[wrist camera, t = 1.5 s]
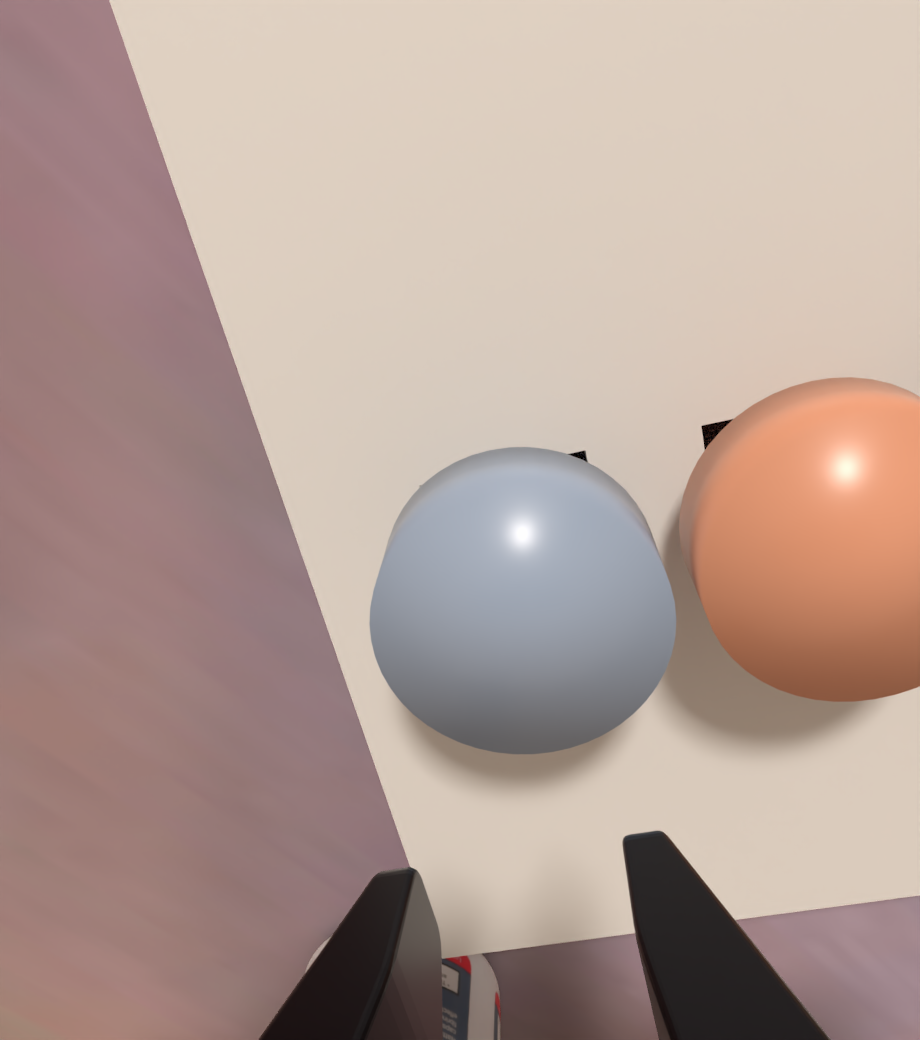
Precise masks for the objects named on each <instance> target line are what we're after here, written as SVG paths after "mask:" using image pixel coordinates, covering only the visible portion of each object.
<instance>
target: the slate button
mask: <svg viewBox="0 0 920 1040" xmlns="http://www.w3.org/2000/svg"><path fill="white" fill-rule="evenodd" d="M369 625H370V635H371V643H372V647H373V651H374V655H375V658H376V661H377V663H378V666H379V668H380V670H381V673H382V675H383V676H384V678H385V680H386V682H387V683H388V685H389V687H390V689H391V690H392V691H393V692H394V694H395V695H396V696H397V698H398V699H399V700H400V701H401V703H402V704H403V705H404V706H405V707H406V708H407V709H408V710H409V711H410V712H411V713H412V714H413V715H415V716H416V717H417V718H419V719H420V720H421V721H422V722H424V723H425V724H426V725H428V726H429V727H431V728H432V729H434V730H436V731H437V732H439V733H441V734H442V735H444V736H446V737H449V738H451V739H453V740H455V741H457V742H460V743H462V744H465V745H469V746H472V747H475V748H478V749H482V750H487V751H492V752H497V753H507V754H540V753H549V752H555V751H559V750H564V749H568V748H572V747H575V746H578V745H581V744H584V743H587V742H589V741H591V740H593V739H596V738H598V737H600V736H602V735H604V734H606V733H607V732H609V731H611V730H612V729H614V728H615V727H617V726H619V725H620V724H621V723H623V722H624V721H625V720H626V719H628V718H629V717H630V716H631V715H633V714H634V713H635V712H636V711H637V710H638V709H639V708H640V707H641V706H642V705H643V704H644V703H645V702H646V701H647V699H648V698H649V696H650V695H651V694H652V692H653V691H654V690H655V688H656V687H657V685H658V684H659V682H660V680H661V678H662V676H663V675H664V673H665V671H666V668H667V666H668V663H669V660H670V658H671V655H672V650H673V646H674V641H675V634H676V611H675V601H674V597H673V593H672V589H671V585H670V582H669V580H668V577H667V574H666V571H665V569H664V566H663V563H662V560H661V557H660V555H659V552H658V549H657V546H656V543H655V541H654V538H653V535H652V532H651V530H650V528H649V525H648V523H647V520H646V518H645V516H644V515H643V513H642V511H641V510H640V508H639V506H638V505H637V503H636V502H635V501H634V500H633V498H632V497H631V496H630V495H629V494H628V492H627V491H626V490H625V489H624V488H623V487H622V486H621V485H620V484H619V483H617V482H616V481H615V480H614V479H613V478H612V477H610V476H609V475H607V474H606V473H605V472H603V471H602V470H600V469H599V468H597V467H595V466H593V465H592V464H590V463H588V462H586V461H584V460H582V459H579V458H576V457H574V456H571V455H568V454H566V453H562V452H558V451H553V450H549V449H542V448H532V447H508V448H501V449H495V450H489V451H485V452H482V453H478V454H474V455H471V456H469V457H466V458H464V459H462V460H459V461H457V462H455V463H453V464H451V465H449V466H448V467H446V468H444V469H443V470H441V471H439V472H438V473H436V474H435V475H434V476H433V477H431V478H430V479H429V480H427V481H426V482H425V483H424V484H423V485H422V486H421V487H420V488H419V489H418V490H417V491H416V492H415V493H414V494H413V495H412V497H411V498H410V499H409V501H408V502H407V503H406V505H405V506H404V507H403V509H402V511H401V512H400V514H399V516H398V518H397V520H396V522H395V524H394V526H393V529H392V532H391V535H390V537H389V540H388V544H387V547H386V550H385V554H384V557H383V560H382V564H381V567H380V570H379V574H378V577H377V580H376V584H375V587H374V591H373V596H372V601H371V606H370V622H369Z"/></svg>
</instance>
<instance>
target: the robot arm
mask: <svg viewBox="0 0 920 1040" xmlns="http://www.w3.org/2000/svg"><path fill="white" fill-rule="evenodd" d="M622 846H623V854H624V861H625V868H626V875H627V882H628V889H629V896H630V903H631V910H632V917H633V924H634V929H635V934H636V940H637V944H638V949H639V953H640V958H641V962H642V966H643V971H644V975H645V979H646V984H647V988H648V993H649V997H650V1001H651V1006H652V1010H653V1015H654V1019H655V1023H656V1028H657V1032H658V1036H659V1040H831V1039H830V1038H829V1037H828V1036H827V1034H826V1033H825V1032H824V1031H823V1029H822V1028H821V1027H820V1026H819V1024H818V1023H817V1022H816V1021H815V1019H814V1018H813V1017H812V1016H811V1014H810V1013H809V1012H808V1011H807V1009H806V1008H805V1007H804V1006H803V1004H802V1003H801V1002H800V1001H799V999H798V998H797V997H796V996H795V994H794V993H793V992H792V991H791V989H790V988H789V987H788V986H787V984H786V983H785V982H784V981H783V979H782V978H781V977H780V976H779V974H778V973H777V972H776V971H775V969H774V968H773V967H772V966H771V964H770V963H769V962H768V960H767V959H766V958H765V957H764V955H763V954H762V953H761V952H760V950H759V949H758V948H757V947H756V945H755V944H754V943H753V942H752V940H751V939H750V938H749V937H748V935H747V934H746V933H745V932H744V930H743V929H742V928H741V927H740V925H739V924H738V923H737V922H736V920H735V919H734V918H733V917H732V915H731V914H730V913H729V912H728V910H727V909H726V908H725V907H724V905H723V904H722V903H721V902H720V900H719V899H718V898H717V897H716V895H715V894H714V893H713V892H712V890H711V889H710V888H709V887H708V885H707V884H706V883H705V882H704V880H703V879H702V878H701V877H700V875H699V874H698V873H697V872H696V870H695V869H694V868H693V867H692V865H691V864H690V863H689V862H688V860H687V859H686V858H685V857H684V855H683V854H682V853H681V852H680V850H679V849H678V848H677V847H676V845H675V844H674V843H673V842H672V840H671V839H670V838H669V837H668V835H666V834H665V833H664V832H662V831H650V832H644V833H637V834H630V835H626V836H625V837H624V838H623V841H622ZM259 1040H443V1022H442V954H441V939H440V932H439V928H438V924H437V921H436V918H435V915H434V912H433V909H432V906H431V904H430V901H429V898H428V895H427V892H426V889H425V886H424V883H423V880H422V878H421V875H420V874H419V872H418V871H417V870H416V869H414V868H411V867H408V868H402V869H395V870H388V871H382V872H380V873H378V874H377V875H375V876H374V877H373V878H372V880H371V881H370V882H369V884H368V885H367V887H366V888H365V890H364V891H363V892H362V894H361V895H360V897H359V898H358V899H357V901H356V902H355V904H354V905H353V907H352V908H351V909H350V911H349V912H348V914H347V915H346V916H345V918H344V919H343V921H342V922H341V924H340V925H339V926H338V928H337V929H336V931H335V932H334V933H333V935H332V936H331V938H330V939H329V941H328V942H327V943H326V945H325V946H324V948H323V949H322V950H321V952H320V953H319V955H318V956H317V958H316V959H315V960H314V962H313V963H312V965H311V966H310V967H309V969H308V970H307V972H306V973H305V975H304V976H303V977H302V979H301V980H300V982H299V983H298V984H297V986H296V987H295V989H294V990H293V992H292V993H291V994H290V996H289V997H288V999H287V1000H286V1001H285V1003H284V1004H283V1006H282V1007H281V1009H280V1010H279V1011H278V1013H277V1014H276V1016H275V1017H274V1018H273V1020H272V1021H271V1023H270V1024H269V1026H268V1027H267V1028H266V1030H265V1031H264V1033H263V1034H262V1035H261V1037H260V1038H259Z"/></svg>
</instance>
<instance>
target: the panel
mask: <svg viewBox="0 0 920 1040" xmlns="http://www.w3.org/2000/svg"><path fill="white" fill-rule="evenodd" d="M109 1H110V4H111V7H112V10H113V12H114V15H115V18H116V21H117V24H118V27H119V30H120V33H121V35H122V38H123V41H124V44H125V47H126V50H127V53H128V56H129V59H130V61H131V64H132V67H133V70H134V73H135V76H136V79H137V82H138V84H139V87H140V90H141V93H142V96H143V99H144V102H145V105H146V107H147V110H148V113H149V116H150V119H151V122H152V125H153V128H154V131H155V133H156V136H157V139H158V142H159V145H160V148H161V151H162V154H163V156H164V159H165V162H166V165H167V168H168V171H169V174H170V177H171V179H172V182H173V185H174V188H175V191H176V194H177V197H178V200H179V202H180V205H181V208H182V211H183V214H184V217H185V220H186V223H187V226H188V228H189V231H190V234H191V237H192V240H193V243H194V246H195V249H196V251H197V254H198V257H199V260H200V263H201V266H202V269H203V272H204V274H205V277H206V280H207V283H208V286H209V289H210V292H211V295H212V298H213V300H214V303H215V306H216V309H217V312H218V315H219V318H220V321H221V323H222V326H223V329H224V332H225V335H226V338H227V341H228V344H229V346H230V349H231V352H232V355H233V358H234V361H235V364H236V367H237V369H238V372H239V375H240V378H241V381H242V384H243V387H244V390H245V393H246V395H247V398H248V401H249V404H250V407H251V410H252V413H253V416H254V418H255V421H256V424H257V427H258V430H259V433H260V436H261V439H262V441H263V444H264V447H265V450H266V453H267V456H268V459H269V462H270V465H271V467H272V470H273V473H274V476H275V479H276V482H277V485H278V488H279V490H280V493H281V496H282V499H283V502H284V505H285V508H286V511H287V513H288V516H289V519H290V522H291V525H292V528H293V531H294V534H295V536H296V539H297V542H298V545H299V548H300V551H301V554H302V557H303V560H304V562H305V565H306V568H307V571H308V574H309V577H310V580H311V583H312V585H313V588H314V591H315V594H316V597H317V600H318V603H319V606H320V608H321V611H322V614H323V617H324V620H325V623H326V626H327V629H328V632H329V634H330V637H331V640H332V643H333V646H334V649H335V652H336V655H337V657H338V660H339V663H340V666H341V669H342V672H343V675H344V678H345V680H346V683H347V686H348V689H349V692H350V695H351V698H352V701H353V703H354V706H355V709H356V712H357V715H358V718H359V721H360V724H361V727H362V729H363V732H364V735H365V738H366V741H367V744H368V747H369V750H370V752H371V755H372V758H373V761H374V764H375V767H376V770H377V773H378V775H379V778H380V781H381V784H382V787H383V790H384V793H385V796H386V799H387V801H388V804H389V807H390V810H391V813H392V816H393V819H394V822H395V824H396V827H397V830H398V833H399V836H400V839H401V842H402V845H403V847H404V850H405V853H406V856H407V859H408V862H409V865H410V867H411V868H414V869H416V870H417V871H418V872H419V874H420V875H421V878H422V880H423V883H424V886H425V889H426V892H427V895H428V898H429V901H430V904H431V906H432V909H433V912H434V915H435V918H436V921H437V924H438V928H439V932H440V939H441V954H442V959H444V958H451V957H459V956H466V955H474V954H481V953H489V952H496V951H504V950H512V949H519V948H527V947H534V946H542V945H549V944H557V943H564V942H572V941H579V940H587V939H595V938H602V937H610V936H617V935H625V934H632V933H635V929H634V924H633V917H632V910H631V903H630V896H629V889H628V882H627V875H626V868H625V861H624V854H623V846H622V841H623V838H624V837H625V836H626V835H630V834H637V833H644V832H650V831H662V832H664V833H665V834H666V835H668V837H669V838H670V839H671V840H672V842H673V843H674V844H675V845H676V847H677V848H678V849H679V850H680V852H681V853H682V854H683V855H684V857H685V858H686V859H687V860H688V862H689V863H690V864H691V865H692V867H693V868H694V869H695V870H696V872H697V873H698V874H699V875H700V877H701V878H702V879H703V880H704V882H705V883H706V884H707V885H708V887H709V888H710V889H711V890H712V892H713V893H714V894H715V895H716V897H717V898H718V899H719V900H720V902H721V903H722V904H723V905H724V907H725V908H726V909H727V910H728V912H729V913H730V914H731V915H732V917H733V918H734V919H735V920H738V919H745V918H753V917H760V916H768V915H776V914H783V913H791V912H798V911H806V910H813V909H821V908H828V907H836V906H843V905H851V904H858V903H866V902H874V901H881V900H889V899H896V898H904V897H911V896H919V895H920V686H919V687H917V688H915V689H912V690H909V691H905V692H902V693H899V694H896V695H892V696H887V697H883V698H878V699H873V700H864V701H855V702H832V701H823V700H814V699H809V698H805V697H800V696H795V695H793V694H790V693H787V692H784V691H781V690H778V689H776V688H774V687H772V686H770V685H768V684H766V683H764V682H762V681H760V680H759V679H757V678H756V677H754V676H753V675H751V674H750V673H748V672H747V671H746V670H745V669H743V668H742V667H741V666H740V665H739V664H738V663H737V662H736V661H734V660H733V659H732V657H731V656H730V655H729V654H728V652H727V651H726V650H725V649H724V648H723V646H722V645H721V643H720V642H719V640H718V638H717V637H716V635H715V633H714V632H713V630H712V627H711V625H710V623H709V620H708V618H707V615H706V613H705V610H704V608H703V605H702V603H701V601H700V598H699V596H698V593H697V591H696V588H695V586H694V584H693V581H692V579H691V576H690V574H689V571H688V569H687V566H686V564H685V562H684V558H683V554H682V550H681V545H680V535H679V519H680V509H681V504H682V499H683V494H684V491H685V489H686V486H687V483H688V480H689V477H690V475H691V473H692V471H693V469H694V467H695V465H696V463H697V461H698V460H699V458H700V457H701V455H702V454H703V452H704V451H705V448H704V441H703V434H702V427H701V426H703V425H707V424H712V423H717V422H721V421H726V420H731V419H734V418H735V417H737V416H738V415H739V414H741V413H742V412H744V411H745V410H746V409H748V408H749V407H751V406H752V405H754V404H755V403H757V402H759V401H761V400H763V399H764V398H766V397H768V396H770V395H772V394H774V393H777V392H779V391H782V390H784V389H786V388H789V387H792V386H795V385H799V384H802V383H806V382H810V381H815V380H821V379H828V378H845V377H854V378H865V379H873V380H878V381H882V382H886V383H890V384H893V385H896V386H898V387H901V388H904V389H906V390H909V391H911V392H912V393H914V394H916V395H918V396H919V397H920V0H109ZM508 447H532V448H542V449H549V450H553V451H558V452H562V453H566V454H570V453H575V452H580V451H584V453H585V458H586V462H588V463H590V464H592V465H593V466H595V467H597V468H599V469H600V470H602V471H603V472H605V473H606V474H607V475H609V476H610V477H612V478H613V479H614V480H615V481H616V482H617V483H619V484H620V485H621V486H622V487H623V488H624V489H625V490H626V491H627V492H628V494H629V495H630V496H631V497H632V498H633V500H634V501H635V502H636V503H637V505H638V506H639V508H640V510H641V511H642V513H643V515H644V516H645V518H646V520H647V523H648V525H649V528H650V530H651V532H652V535H653V538H654V541H655V543H656V546H657V549H658V552H659V555H660V557H661V560H662V563H663V566H664V569H665V571H666V574H667V577H668V580H669V582H670V585H671V589H672V593H673V597H674V601H675V611H676V634H675V641H674V646H673V650H672V655H671V658H670V660H669V663H668V666H667V668H666V671H665V673H664V675H663V676H662V678H661V680H660V682H659V684H658V685H657V687H656V688H655V690H654V691H653V692H652V694H651V695H650V696H649V698H648V699H647V701H646V702H645V703H644V704H643V705H642V706H641V707H640V708H639V709H638V710H637V711H636V712H635V713H634V714H633V715H631V716H630V717H629V718H628V719H626V720H625V721H624V722H623V723H621V724H620V725H619V726H617V727H615V728H614V729H612V730H611V731H609V732H607V733H606V734H604V735H602V736H600V737H598V738H596V739H593V740H591V741H589V742H587V743H584V744H581V745H578V746H575V747H572V748H568V749H564V750H559V751H555V752H549V753H540V754H507V753H497V752H492V751H487V750H482V749H478V748H475V747H472V746H469V745H465V744H462V743H460V742H457V741H455V740H453V739H451V738H449V737H446V736H444V735H442V734H441V733H439V732H437V731H436V730H434V729H432V728H431V727H429V726H428V725H426V724H425V723H424V722H422V721H421V720H420V719H419V718H417V717H416V716H415V715H413V714H412V713H411V712H410V711H409V710H408V709H407V708H406V707H405V706H404V705H403V704H402V703H401V701H400V700H399V699H398V698H397V696H396V695H395V694H394V692H393V691H392V690H391V689H390V687H389V685H388V683H387V682H386V680H385V678H384V676H383V675H382V673H381V670H380V668H379V666H378V663H377V661H376V658H375V655H374V651H373V647H372V643H371V635H370V625H369V622H370V606H371V601H372V596H373V591H374V587H375V584H376V580H377V577H378V574H379V570H380V567H381V564H382V560H383V557H384V554H385V550H386V547H387V544H388V540H389V537H390V535H391V532H392V529H393V526H394V524H395V522H396V520H397V518H398V516H399V514H400V512H401V511H402V509H403V507H404V506H405V505H406V503H407V502H408V501H409V499H410V498H411V497H412V495H413V494H414V493H415V492H416V491H417V490H418V489H419V488H420V487H421V486H422V485H423V484H424V483H425V482H426V481H427V480H429V479H430V478H431V477H433V476H434V475H435V474H436V473H438V472H439V471H441V470H443V469H444V468H446V467H448V466H449V465H451V464H453V463H455V462H457V461H459V460H462V459H464V458H466V457H469V456H471V455H474V454H478V453H482V452H485V451H489V450H495V449H501V448H508Z"/></svg>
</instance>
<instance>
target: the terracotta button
mask: <svg viewBox="0 0 920 1040" xmlns="http://www.w3.org/2000/svg"><path fill="white" fill-rule="evenodd" d="M679 535H680V545H681V550H682V554H683V558H684V562H685V564H686V566H687V569H688V571H689V574H690V576H691V579H692V581H693V584H694V586H695V588H696V591H697V593H698V596H699V598H700V601H701V603H702V605H703V608H704V610H705V613H706V615H707V618H708V620H709V623H710V625H711V627H712V630H713V632H714V633H715V635H716V637H717V638H718V640H719V642H720V643H721V645H722V646H723V648H724V649H725V650H726V651H727V652H728V654H729V655H730V656H731V657H732V659H733V660H734V661H736V662H737V663H738V664H739V665H740V666H741V667H742V668H743V669H745V670H746V671H747V672H748V673H750V674H751V675H753V676H754V677H756V678H757V679H759V680H760V681H762V682H764V683H766V684H768V685H770V686H772V687H774V688H776V689H778V690H781V691H784V692H787V693H790V694H793V695H795V696H800V697H805V698H809V699H814V700H823V701H832V702H855V701H864V700H873V699H878V698H883V697H887V696H892V695H896V694H899V693H902V692H905V691H909V690H912V689H915V688H917V687H919V686H920V397H919V396H918V395H916V394H914V393H912V392H911V391H909V390H906V389H904V388H901V387H898V386H896V385H893V384H890V383H886V382H882V381H878V380H873V379H865V378H854V377H845V378H828V379H821V380H815V381H810V382H806V383H802V384H799V385H795V386H792V387H789V388H786V389H784V390H782V391H779V392H777V393H774V394H772V395H770V396H768V397H766V398H764V399H763V400H761V401H759V402H757V403H755V404H754V405H752V406H751V407H749V408H748V409H746V410H745V411H744V412H742V413H741V414H739V415H738V416H737V417H735V418H734V419H733V420H732V421H731V422H730V423H729V424H728V425H727V426H726V427H724V428H723V429H722V430H721V431H720V432H719V434H718V435H717V436H716V437H715V438H714V439H713V440H712V442H711V443H710V444H709V445H708V447H707V448H706V449H705V451H704V452H703V454H702V455H701V457H700V458H699V460H698V461H697V463H696V465H695V467H694V469H693V471H692V473H691V475H690V477H689V480H688V483H687V486H686V489H685V491H684V494H683V499H682V504H681V509H680V519H679Z"/></svg>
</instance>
